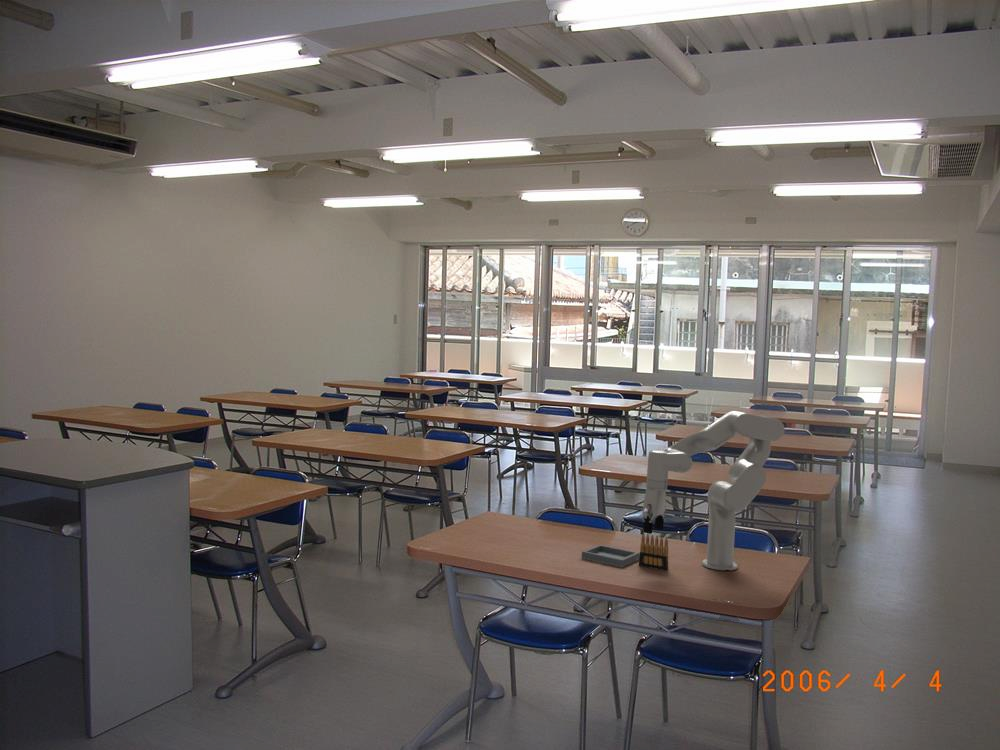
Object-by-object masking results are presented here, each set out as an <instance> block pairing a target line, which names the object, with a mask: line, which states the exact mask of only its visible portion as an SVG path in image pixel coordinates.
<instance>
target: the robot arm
mask: <svg viewBox="0 0 1000 750" xmlns="http://www.w3.org/2000/svg"><path fill="white" fill-rule="evenodd" d="M785 431H786V430H785V425H784V423H783V422H782V421H781V420H780V419H777V418H775V417H770V416H765V415H757V414H753V413H748V412H743V411H738V410H731V411H728V412H727V413H725V414H724V415H722V416H721V417H719V418H718V419H716V420H715V421H713V422H712V423H710V424H709V425H707V426H706V427H705V428H703V429H701V430H700V431H698V432H695V433H692V434H690V435H688V436H685V437H683V438H682V439H679V440H678V441H677V442H675V443H673V444H672V445H671V446H669V447H668V448H667V449H665V450H660V449H659V450H657V449H654V450H650V451H649V452H648V456H647V457H648V458H647V471H646V485H645V488H646V489H645V493H644V500H643V505H642V506H643V507H642V514H643V530H642V532H643V533H644V534H648V535H653V525H654V529H657V530H661V531H662V530H664V522H665V514H666V509H667V505H666V501H667V492H666V491H667V490H668V479H669V472H675V473H680V474H683V473H687V472H689V471H690V470H691V468H692V467H693V459H692V456H693V455H696V454H699V453H705V452H707V453H708V452H711V451H715V450H717V449H719V448H720V447H721V446H723V445H724V444H725V443H727V442H729V441H730V440H731V439H733V438H734V437H736V436H741V437H747V438H749V440H748V443H747V446H746V448H745V449H744V450H743V452H742V453H741V454H740V455H739V456H738V458H737V459H736V460H735V461H734V462H733V463H732V465H730V468H729V470H728V477H729V479H730V480H731V482H733V483H730V482H727V481H725V480H718V481H714V482H713V483H712V484H711V485H710V486H709V488H708V492H707V503H708V529H707V548H706V558H705V559H703V560H702V562H701V563H702V564H701V565H702V566H704V567H705V568H709V569H710V570H715V571H723V572H725V570H729V571H735V570H737V569H738V564H737V563H736V562H735V561H734V556H735V552H734V551H735V537H736V536H735V535H736V534H735V531H736V513H741V512H742V511H744V509H746V508H747V507H748V506H749V504H750V503H752V501H753V500H754V498H755V497H756V496H757V495H758V494H759V493H760V491H761V490H762V489H763V487H764V486H765V484H766V481H767V472H766V470H765V468H764V467H763V466H764V465H765V463H766V462H767V460H768V459H769V458H770V455H771V450H772V442H776V441H779V440H780V439H782V438H783V437H784V435H785ZM653 520H654V523H653Z"/></svg>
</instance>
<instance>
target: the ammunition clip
mask: <svg viewBox="0 0 1000 750" xmlns="http://www.w3.org/2000/svg"><path fill="white" fill-rule="evenodd" d="M654 538H655V539H654ZM640 540H641V541H640V547H639V549H640V551H639V560H638V566H639V567H644V566H646V567H645V568H649V567H652V568H651V569H654V568H657V569H656V570H660V569H663V570H662V571H665V570H667V569H668V570H669V540H668V536H666V537H665V539H664V538H663V536H662V535H661V536H660V539H659V536H658V535H656V537H654V535H653V534H651V536H650V534H648V533H646V537H645V533H644V532H643V533H642V534H641V539H640ZM668 570H667V571H668Z"/></svg>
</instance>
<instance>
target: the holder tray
mask: <svg viewBox="0 0 1000 750" xmlns="http://www.w3.org/2000/svg"><path fill="white" fill-rule="evenodd" d="M639 556H640V552H638V551H632V550H627V549H624V548H623V549H622V548H619V547H618V548H617V547H613V546H608V545H604V544H598V545H595V546H593V547H590V548H587V549H585V550H583V551H581V559H582V558H583V560H586V559H587V561H591V560H592V561H591V562H595V561H596V563H600V562H601V563H600V564H605V563H606V565H609V564H611V565H610V566H614V565H615V566H614V567H618V566H620V567H619V568H624V567H626V565H627V566H629V565H631V564H633V563H636V562H637V561H639ZM630 563H631V564H630ZM628 564H629V565H628Z"/></svg>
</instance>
